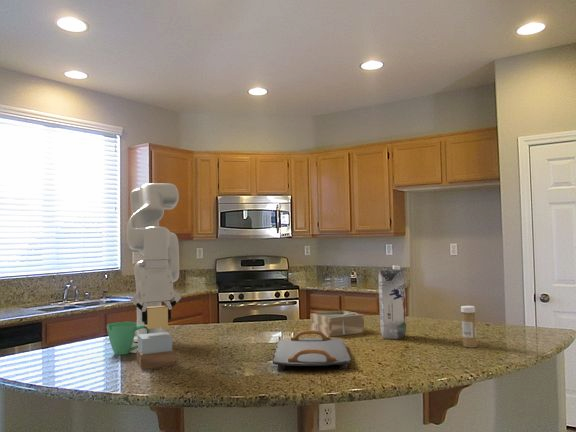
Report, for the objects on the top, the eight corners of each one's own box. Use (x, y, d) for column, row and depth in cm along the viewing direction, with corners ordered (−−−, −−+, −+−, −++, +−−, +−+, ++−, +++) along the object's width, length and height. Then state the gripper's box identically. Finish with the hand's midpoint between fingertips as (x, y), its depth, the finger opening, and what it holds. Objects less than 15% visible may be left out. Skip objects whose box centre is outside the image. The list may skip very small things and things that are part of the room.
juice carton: (379, 339, 179) (376, 266, 181) (384, 334, 189) (382, 265, 190) (403, 340, 176) (400, 266, 177) (407, 335, 185) (404, 264, 187)
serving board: (353, 373, 134) (352, 351, 134) (270, 375, 134) (270, 353, 135) (342, 345, 172) (341, 327, 173) (278, 346, 173) (277, 329, 173)
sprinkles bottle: (479, 346, 161) (477, 306, 162) (471, 348, 159) (469, 307, 160) (468, 344, 165) (466, 305, 166) (459, 346, 163) (457, 306, 164)
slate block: (137, 348, 153) (137, 334, 153) (166, 345, 157) (166, 331, 157) (142, 354, 145) (142, 339, 145) (172, 350, 149) (172, 336, 149)
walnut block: (136, 363, 153) (136, 348, 153) (168, 359, 157) (168, 345, 157) (141, 370, 144) (140, 354, 144) (174, 365, 148) (174, 351, 148)
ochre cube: (145, 326, 152) (145, 307, 153) (164, 324, 155) (164, 305, 155) (148, 328, 147) (148, 308, 147) (168, 326, 149) (167, 307, 150)
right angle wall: (357, 330, 199) (355, 312, 200) (343, 334, 189) (342, 314, 190) (331, 330, 205) (330, 312, 206) (317, 333, 195) (316, 315, 196)
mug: (103, 357, 161) (103, 326, 162) (111, 350, 171) (111, 322, 172) (147, 355, 163) (147, 325, 163) (153, 348, 172) (153, 320, 173)
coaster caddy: (310, 330, 201) (310, 313, 201) (343, 326, 208) (343, 310, 208) (329, 336, 186) (329, 318, 187) (364, 332, 193) (363, 314, 194)
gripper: (128, 267, 145) (129, 327, 144) (185, 264, 152) (186, 322, 151) (126, 266, 152) (126, 324, 151) (180, 264, 159) (181, 319, 158)
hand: (156, 322), depth 151 cm, fingers closed on ochre cube, 6 cm apart
